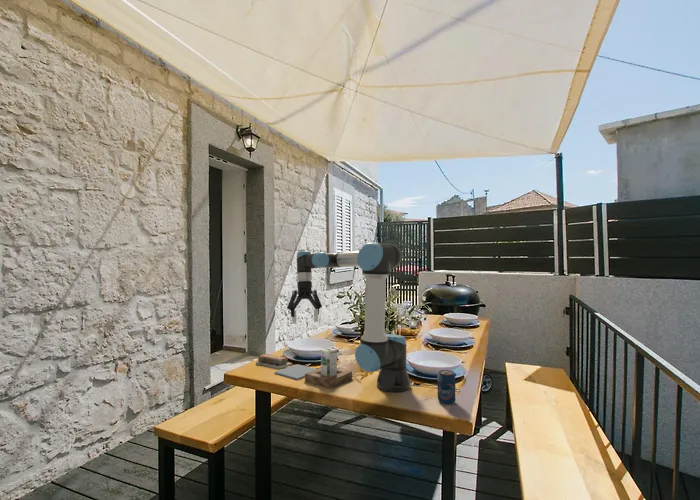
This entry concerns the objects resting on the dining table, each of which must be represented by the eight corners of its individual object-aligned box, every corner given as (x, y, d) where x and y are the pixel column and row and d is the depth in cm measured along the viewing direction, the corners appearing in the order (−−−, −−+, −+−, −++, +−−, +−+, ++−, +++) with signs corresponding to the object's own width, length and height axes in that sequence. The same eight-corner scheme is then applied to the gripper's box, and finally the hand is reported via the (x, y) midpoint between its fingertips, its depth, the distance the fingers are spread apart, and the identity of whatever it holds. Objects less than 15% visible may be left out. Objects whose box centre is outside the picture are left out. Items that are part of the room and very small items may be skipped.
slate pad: (319, 371, 179) (319, 369, 179) (297, 380, 166) (297, 378, 166) (297, 365, 189) (297, 364, 189) (274, 373, 176) (274, 371, 176)
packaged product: (255, 356, 192) (267, 352, 200) (255, 365, 192) (267, 360, 200) (279, 361, 183) (292, 356, 191) (279, 370, 183) (292, 365, 191)
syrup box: (320, 379, 166) (320, 349, 167) (329, 376, 171) (329, 347, 171) (328, 382, 162) (328, 351, 163) (337, 379, 167) (337, 349, 167)
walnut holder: (352, 378, 168) (352, 371, 168) (331, 388, 155) (331, 380, 155) (326, 372, 178) (326, 365, 178) (305, 381, 165) (305, 373, 165)
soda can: (438, 405, 138) (438, 374, 138) (436, 398, 145) (436, 369, 145) (456, 406, 137) (456, 375, 137) (454, 399, 143) (453, 369, 144)
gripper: (319, 281, 193) (320, 320, 189) (279, 281, 176) (280, 324, 173) (327, 280, 187) (329, 321, 184) (287, 280, 170) (288, 324, 167)
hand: (305, 322), depth 178 cm, fingers open, 13 cm apart
